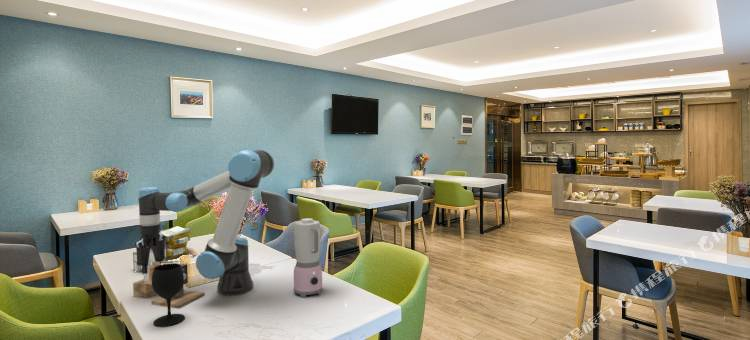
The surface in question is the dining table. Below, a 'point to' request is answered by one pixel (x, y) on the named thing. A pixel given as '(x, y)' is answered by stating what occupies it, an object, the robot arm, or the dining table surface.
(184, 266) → the eye post
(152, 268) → the hook
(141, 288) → the rest block
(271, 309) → the dining table surface
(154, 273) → the wine glass
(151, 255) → the toy llama
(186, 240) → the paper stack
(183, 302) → the base board
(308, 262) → the blender
